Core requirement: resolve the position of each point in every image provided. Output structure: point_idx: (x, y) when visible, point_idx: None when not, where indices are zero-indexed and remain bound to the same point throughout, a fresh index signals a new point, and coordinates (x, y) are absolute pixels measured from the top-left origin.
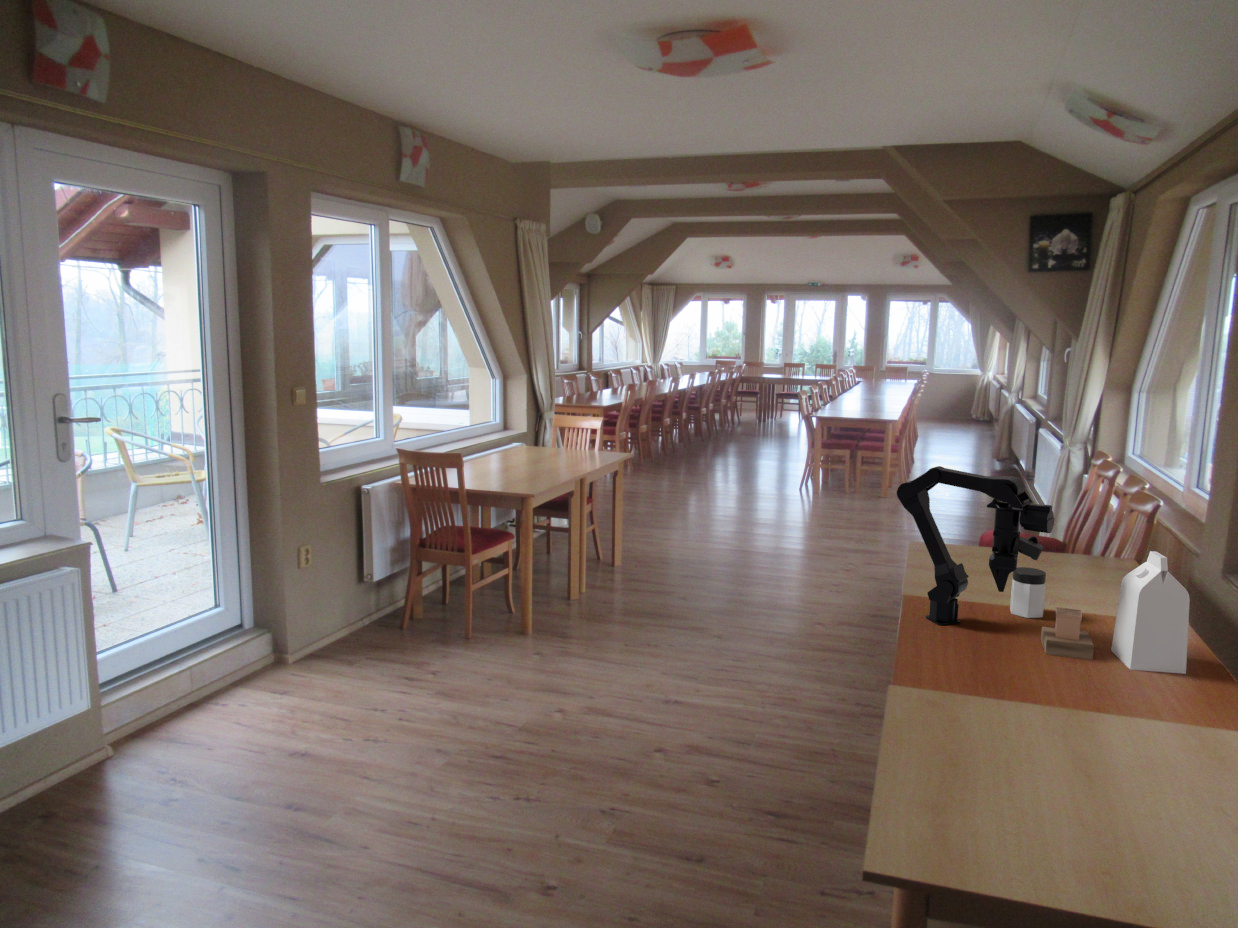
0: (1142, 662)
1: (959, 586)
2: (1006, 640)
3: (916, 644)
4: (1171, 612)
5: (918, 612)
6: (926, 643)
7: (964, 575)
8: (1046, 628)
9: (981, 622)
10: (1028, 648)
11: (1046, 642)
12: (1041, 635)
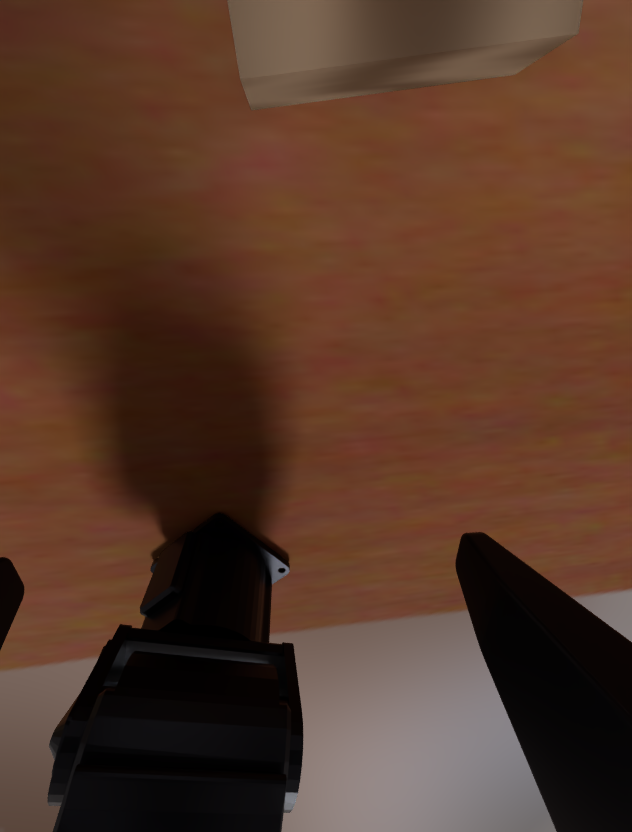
0: None
1: (270, 729)
2: (356, 314)
3: None
4: None
5: None
6: None
7: (125, 805)
8: (277, 33)
9: (140, 441)
10: (444, 191)
11: (551, 45)
12: (263, 98)
